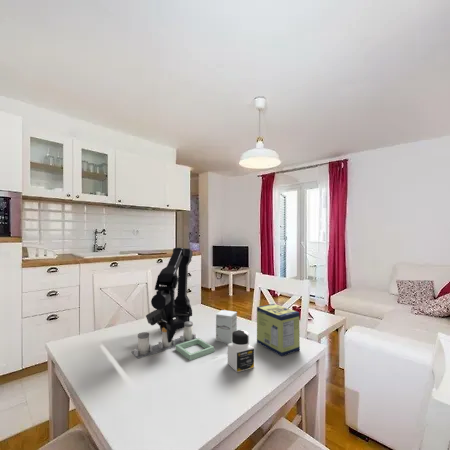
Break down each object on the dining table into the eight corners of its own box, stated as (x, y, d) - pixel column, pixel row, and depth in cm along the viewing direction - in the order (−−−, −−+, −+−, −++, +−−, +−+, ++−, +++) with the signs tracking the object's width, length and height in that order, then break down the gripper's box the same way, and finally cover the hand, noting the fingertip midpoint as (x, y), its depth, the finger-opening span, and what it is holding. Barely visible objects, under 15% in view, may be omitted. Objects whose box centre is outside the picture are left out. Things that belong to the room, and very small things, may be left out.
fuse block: (190, 337, 118) (190, 319, 118) (199, 342, 112) (199, 323, 112) (130, 354, 101) (131, 333, 101) (137, 362, 95) (137, 339, 95)
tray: (198, 345, 110) (198, 337, 110) (214, 354, 101) (214, 346, 101) (175, 352, 103) (175, 344, 103) (190, 363, 94) (190, 355, 94)
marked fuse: (169, 342, 109) (169, 325, 110) (173, 345, 106) (174, 328, 106) (159, 345, 107) (160, 328, 107) (164, 348, 103) (164, 331, 104)
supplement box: (215, 343, 111) (215, 314, 112) (221, 337, 118) (222, 309, 119) (231, 346, 109) (231, 316, 109) (237, 339, 115) (237, 311, 116)
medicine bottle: (236, 372, 88) (237, 337, 89) (227, 363, 95) (227, 330, 95) (254, 367, 92) (254, 333, 92) (243, 359, 98) (243, 327, 98)
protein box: (273, 337, 118) (273, 303, 119) (300, 350, 105) (300, 312, 106) (256, 342, 113) (256, 306, 113) (281, 357, 100) (281, 316, 100)
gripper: (139, 300, 109) (139, 338, 109) (159, 311, 95) (158, 354, 94) (164, 296, 116) (163, 331, 116) (185, 306, 102) (185, 346, 101)
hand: (166, 340), depth 106 cm, fingers open, 4 cm apart
